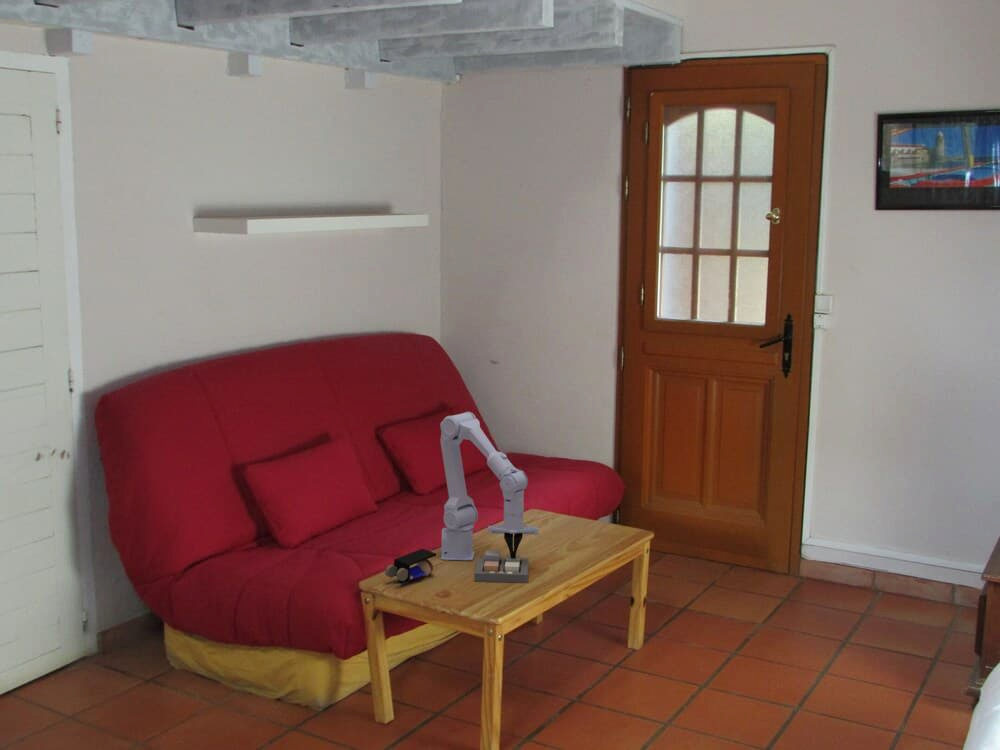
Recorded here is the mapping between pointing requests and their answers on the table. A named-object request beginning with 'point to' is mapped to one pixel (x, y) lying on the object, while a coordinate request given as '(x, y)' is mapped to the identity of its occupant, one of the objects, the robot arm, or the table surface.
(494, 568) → the key terracotta
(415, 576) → the black toy vehicle
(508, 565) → the key cream
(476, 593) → the table surface
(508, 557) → the key sage
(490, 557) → the key slate
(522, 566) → the keypad bezel
